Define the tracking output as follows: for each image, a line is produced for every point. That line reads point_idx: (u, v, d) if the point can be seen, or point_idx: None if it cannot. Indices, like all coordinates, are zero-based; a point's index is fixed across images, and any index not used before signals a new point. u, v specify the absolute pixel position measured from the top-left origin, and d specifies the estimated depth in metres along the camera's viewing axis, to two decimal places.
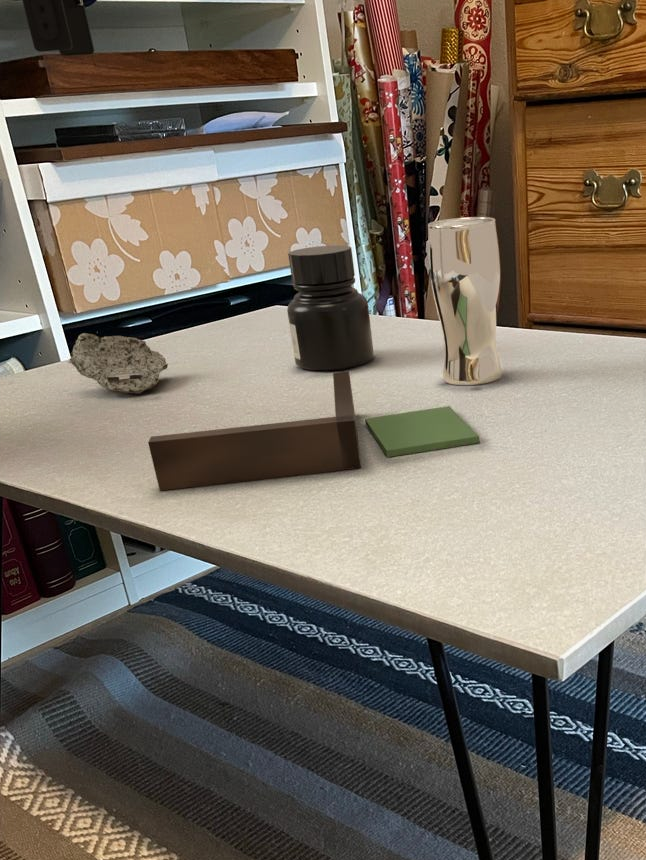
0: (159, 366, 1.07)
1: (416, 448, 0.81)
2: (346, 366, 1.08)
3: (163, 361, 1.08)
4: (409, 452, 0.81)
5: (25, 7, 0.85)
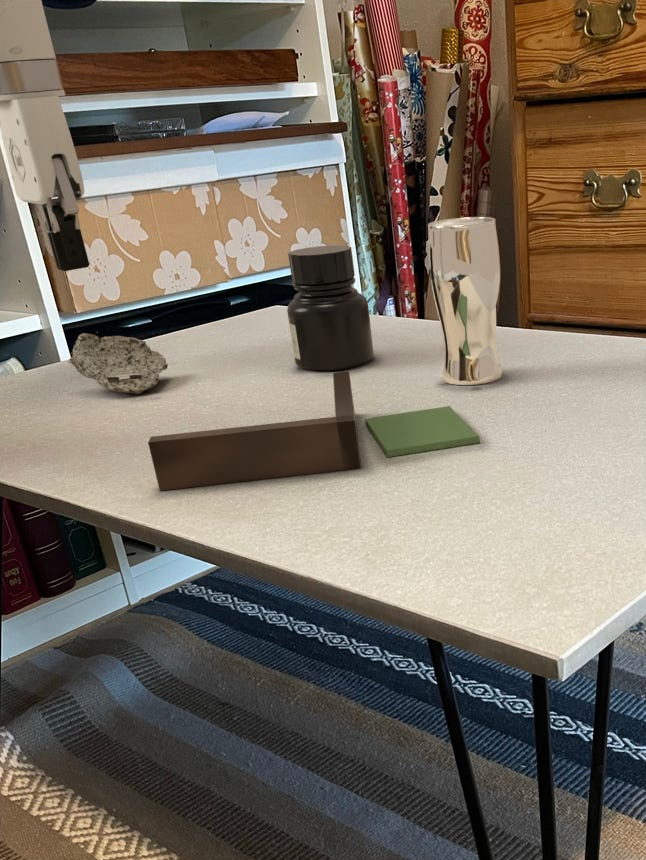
0: (159, 366, 1.07)
1: (416, 448, 0.81)
2: (346, 366, 1.08)
3: (163, 361, 1.08)
4: (409, 452, 0.81)
5: (54, 240, 1.08)
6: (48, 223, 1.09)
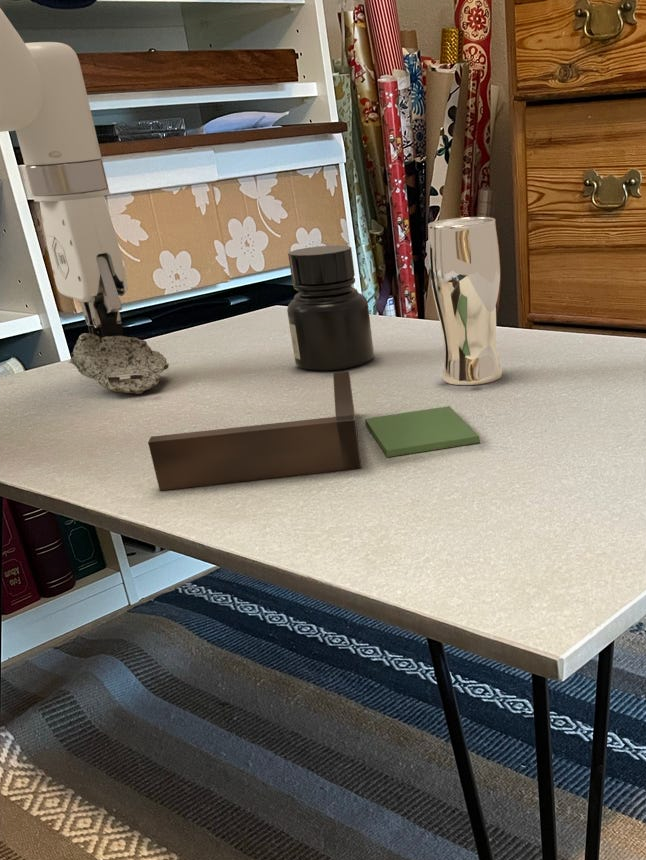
0: (160, 366, 1.07)
1: (416, 448, 0.81)
2: (346, 366, 1.08)
3: (164, 361, 1.08)
4: (409, 452, 0.81)
5: (95, 334, 1.07)
6: (89, 317, 1.08)
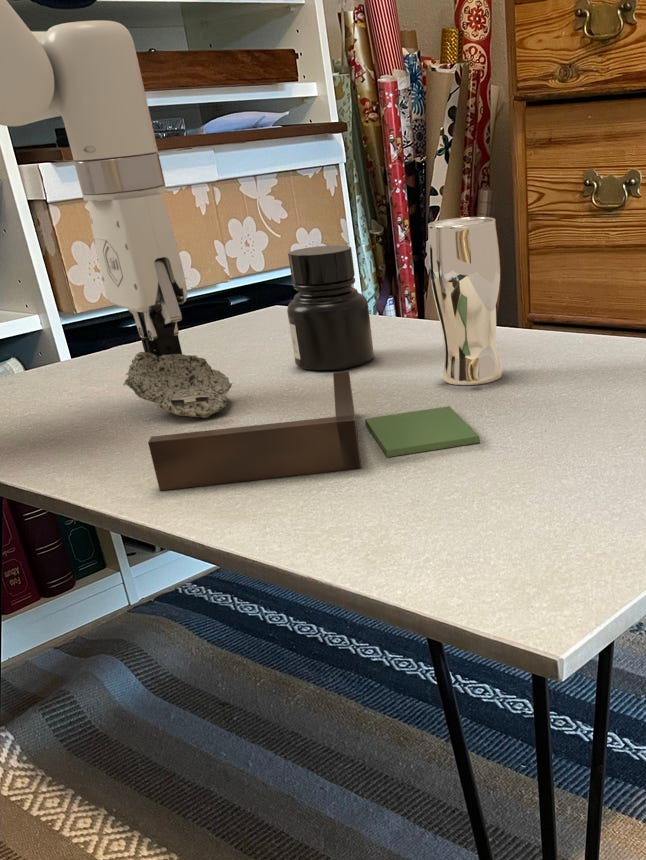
0: (224, 386, 0.97)
1: (416, 448, 0.81)
2: (346, 366, 1.08)
3: (227, 381, 0.98)
4: (409, 452, 0.81)
5: (150, 348, 0.97)
6: (143, 329, 0.97)
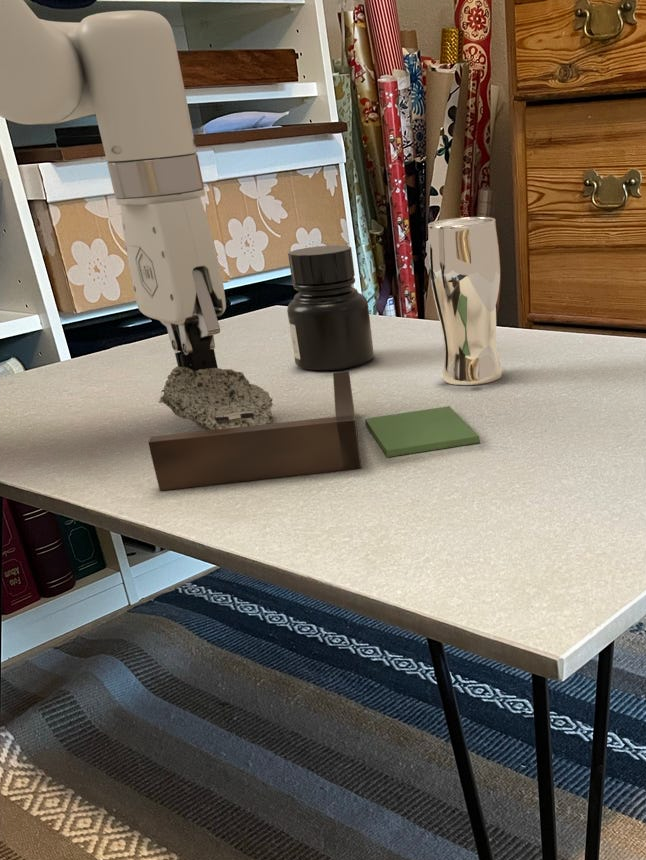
0: (266, 401, 0.91)
1: (416, 448, 0.81)
2: (346, 366, 1.08)
3: (267, 395, 0.92)
4: (409, 452, 0.81)
5: (184, 362, 0.91)
6: (176, 342, 0.91)
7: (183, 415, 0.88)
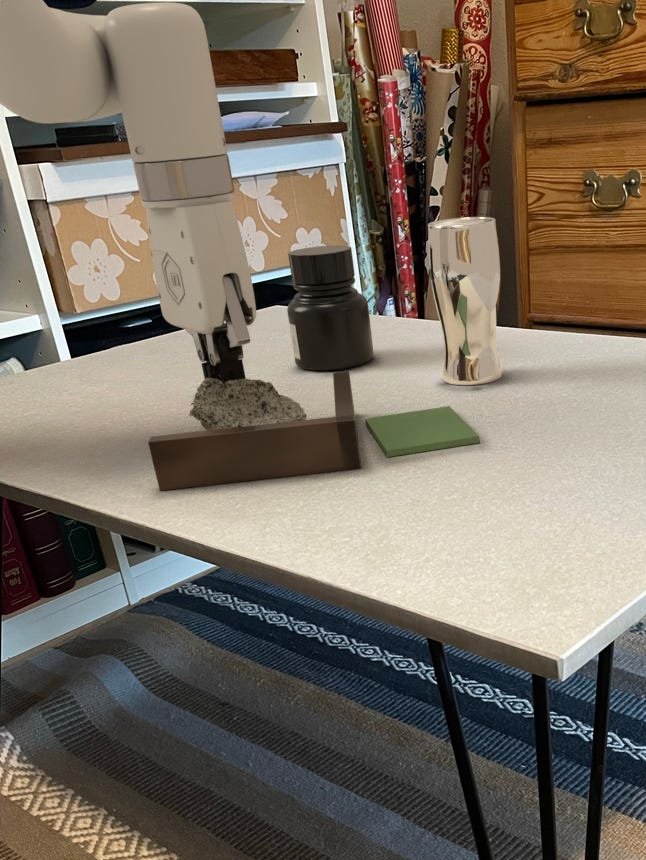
0: (299, 412, 0.87)
1: (416, 448, 0.81)
2: (346, 366, 1.08)
3: (299, 406, 0.89)
4: (409, 452, 0.81)
5: (211, 373, 0.86)
6: (203, 352, 0.86)
7: (216, 429, 0.84)
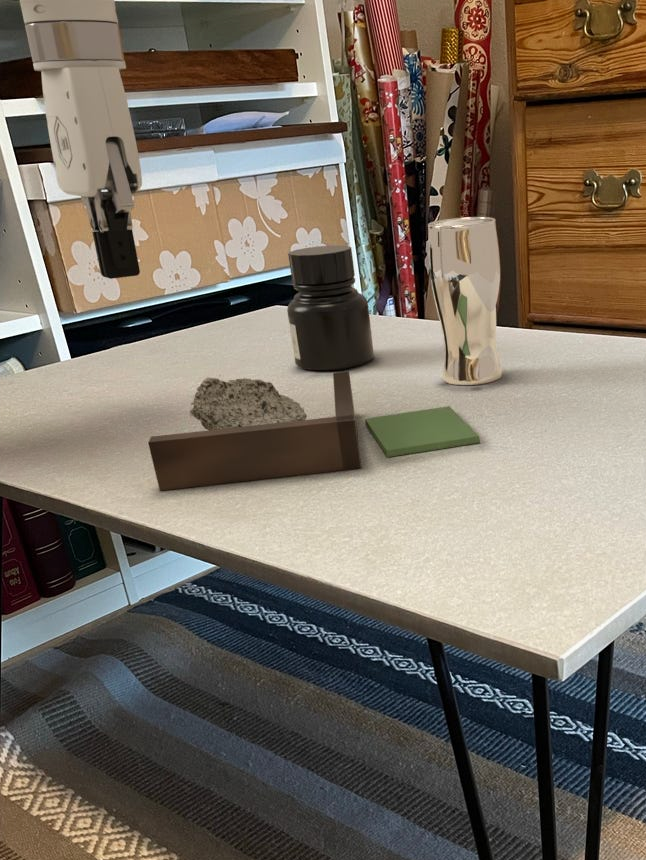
0: (300, 412, 0.87)
1: (416, 448, 0.81)
2: (346, 366, 1.08)
3: (299, 406, 0.88)
4: (409, 452, 0.81)
5: (100, 241, 0.90)
6: (94, 220, 0.90)
7: (216, 429, 0.84)
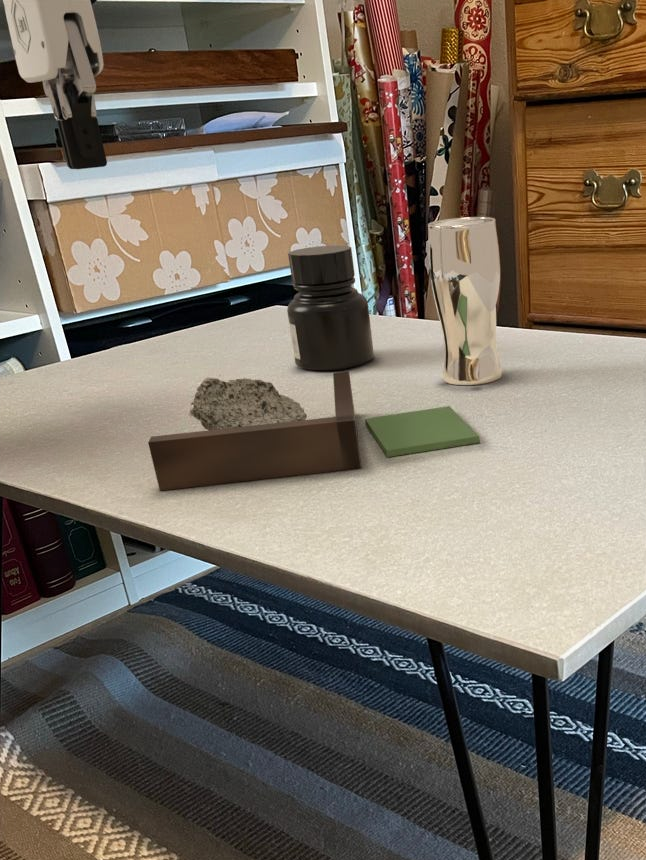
0: (300, 412, 0.87)
1: (416, 448, 0.81)
2: (346, 366, 1.08)
3: (299, 406, 0.88)
4: (409, 452, 0.81)
5: (65, 129, 0.88)
6: (57, 109, 0.88)
7: (216, 429, 0.84)
